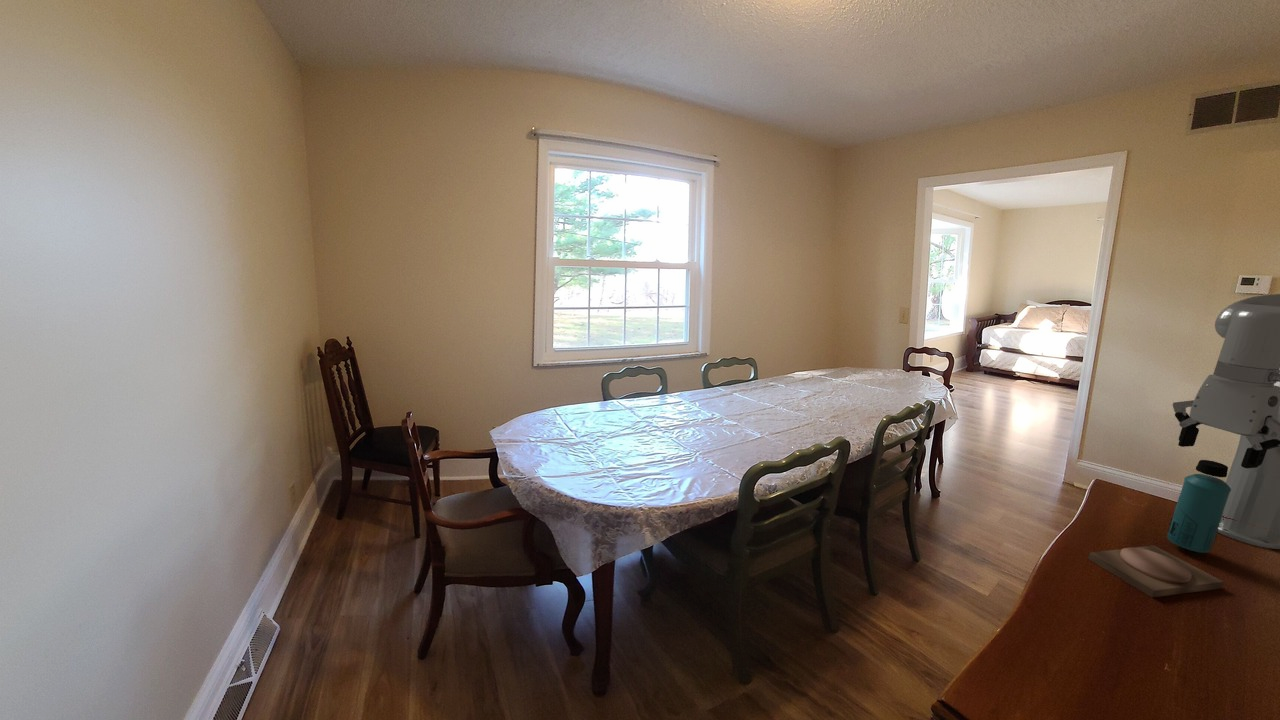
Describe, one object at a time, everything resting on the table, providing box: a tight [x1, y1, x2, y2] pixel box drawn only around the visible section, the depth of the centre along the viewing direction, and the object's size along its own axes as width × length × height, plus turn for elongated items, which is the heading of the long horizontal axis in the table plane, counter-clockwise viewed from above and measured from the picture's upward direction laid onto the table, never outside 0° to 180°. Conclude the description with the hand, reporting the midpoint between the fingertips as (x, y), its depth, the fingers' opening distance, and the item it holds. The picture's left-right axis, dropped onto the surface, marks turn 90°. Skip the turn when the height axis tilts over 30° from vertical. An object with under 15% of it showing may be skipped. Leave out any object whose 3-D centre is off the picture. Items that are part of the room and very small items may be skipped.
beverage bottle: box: [1166, 459, 1231, 554], centre depth 99 cm, size 6×7×20 cm
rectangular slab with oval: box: [1087, 544, 1224, 598], centre depth 94 cm, size 16×11×2 cm
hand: (1215, 456), depth 96 cm, fingers open, 9 cm apart
